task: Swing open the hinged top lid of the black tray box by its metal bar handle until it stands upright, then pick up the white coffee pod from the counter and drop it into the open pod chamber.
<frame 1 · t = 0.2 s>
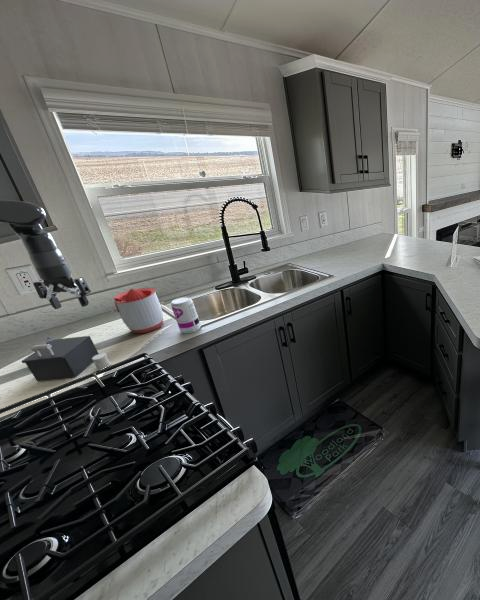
hand: (72, 306, 116), 25 cm above the countertop, tool pointing down, fingers open, 8 cm apart
supplement can: (191, 329, 150), on the countertop
coffee pod: (104, 367, 125), on the countertop
citrus juicer: (146, 328, 152), on the countertop
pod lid: (55, 343, 120), point 11 cm above the countertop, hinge at 0.0°
black tray box: (70, 368, 125), on the countertop
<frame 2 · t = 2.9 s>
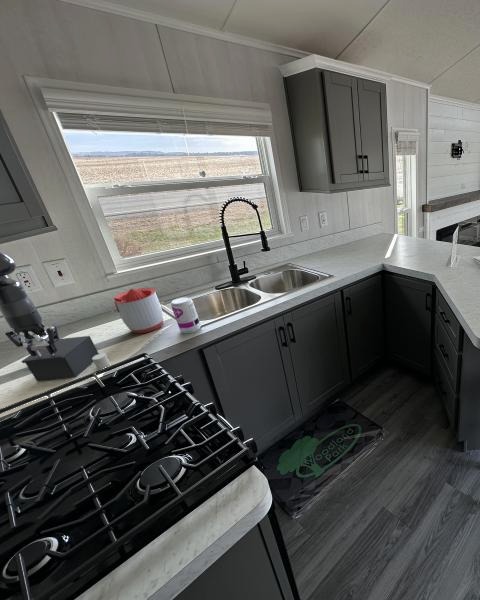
hand: (45, 353, 116), 11 cm above the countertop, tool pointing down, fingers closed on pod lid, 5 cm apart
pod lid: (55, 343, 120), point 11 cm above the countertop, hinge at 0.0°, touching gripper
everything else where it was.
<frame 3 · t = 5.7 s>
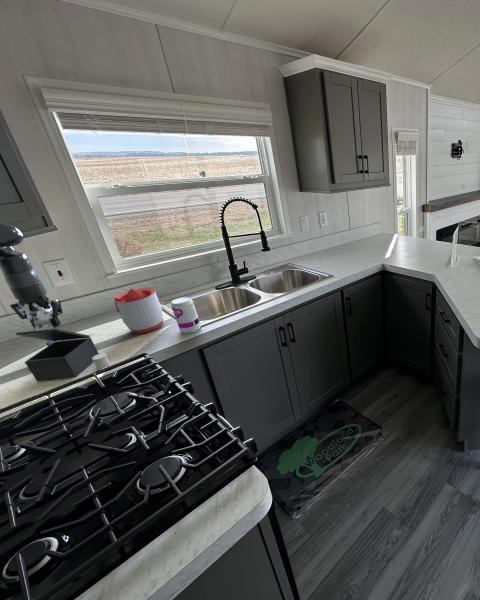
hand: (48, 327, 118), 18 cm above the countertop, tool pointing down, fingers closed on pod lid, 5 cm apart
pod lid: (56, 329, 121), point 16 cm above the countertop, hinge at 41.1°, touching gripper
everything else where it was.
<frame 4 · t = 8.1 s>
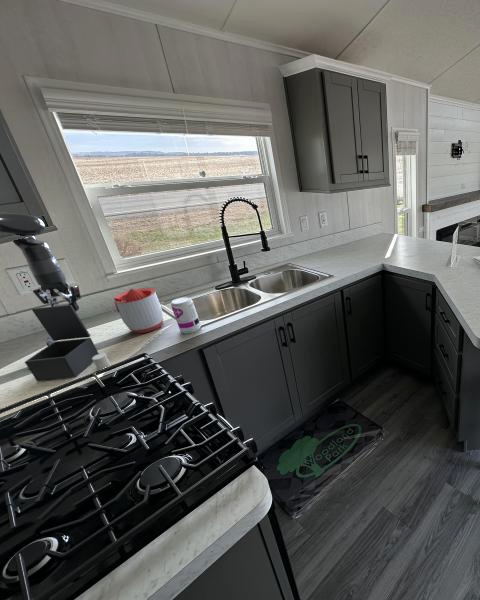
hand: (67, 311, 127), 19 cm above the countertop, tool pointing down, fingers closed on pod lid, 5 cm apart
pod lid: (66, 320, 126), point 17 cm above the countertop, hinge at 84.9°, touching gripper
everything else where it was.
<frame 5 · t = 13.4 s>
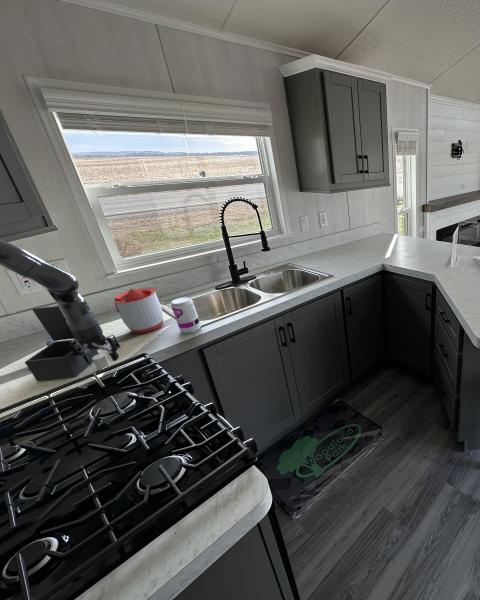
hand: (103, 361, 125), 2 cm above the countertop, tool pointing down, fingers open, 8 cm apart
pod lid: (66, 320, 126), point 17 cm above the countertop, hinge at 85.6°
everything else where it was.
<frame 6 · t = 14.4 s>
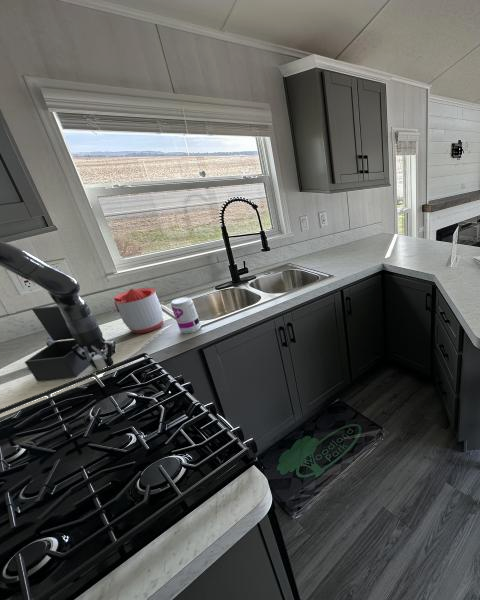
hand: (104, 366, 125), 0 cm above the countertop, tool pointing down, fingers closed on coffee pod, 4 cm apart
coffee pod: (104, 367, 125), on the countertop, touching gripper
everything else where it was.
when the fingers open (8 cm above the countertop, at t = 20.8 s): coffee pod drops 7 cm, resting on black tray box.
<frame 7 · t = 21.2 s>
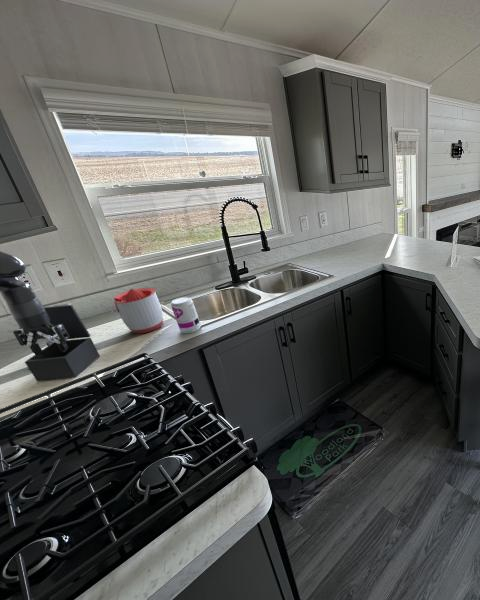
hand: (52, 352, 119), 9 cm above the countertop, tool pointing down, fingers open, 8 cm apart
coffee pod: (63, 371, 122), point 1 cm above the countertop, touching black tray box
everything else where it was.
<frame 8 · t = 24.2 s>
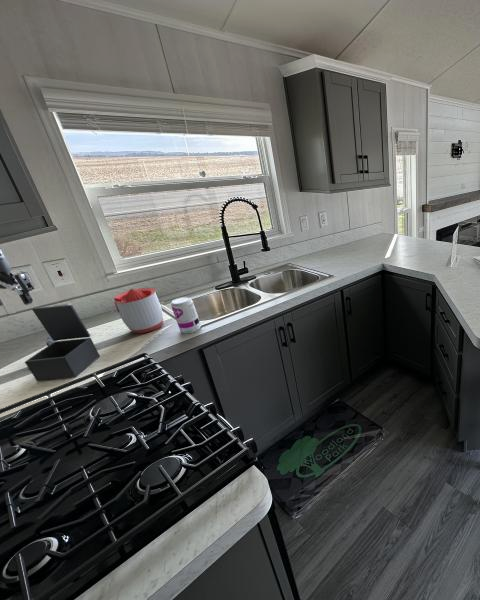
hand: (14, 304, 107), 30 cm above the countertop, tool pointing down, fingers open, 8 cm apart
nothing on the countertop moved.
at the end: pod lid at +86° (first picture: +0°); coffee pod inside the target area in the black tray box (3.0 cm from its centre), point 0.8 cm above the black tray box's base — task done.
